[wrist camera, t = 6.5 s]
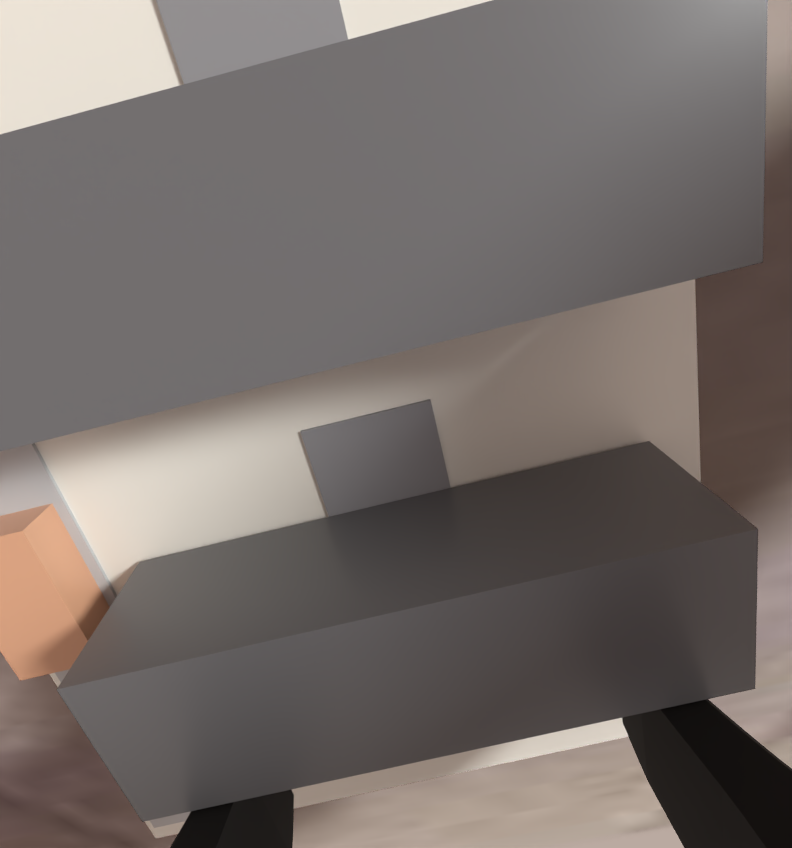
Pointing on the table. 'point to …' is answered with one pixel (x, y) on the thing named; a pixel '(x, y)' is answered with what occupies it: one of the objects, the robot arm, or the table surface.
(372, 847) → the table surface
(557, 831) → the table surface
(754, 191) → the slider middle
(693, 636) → the slider
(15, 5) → the switch panel
